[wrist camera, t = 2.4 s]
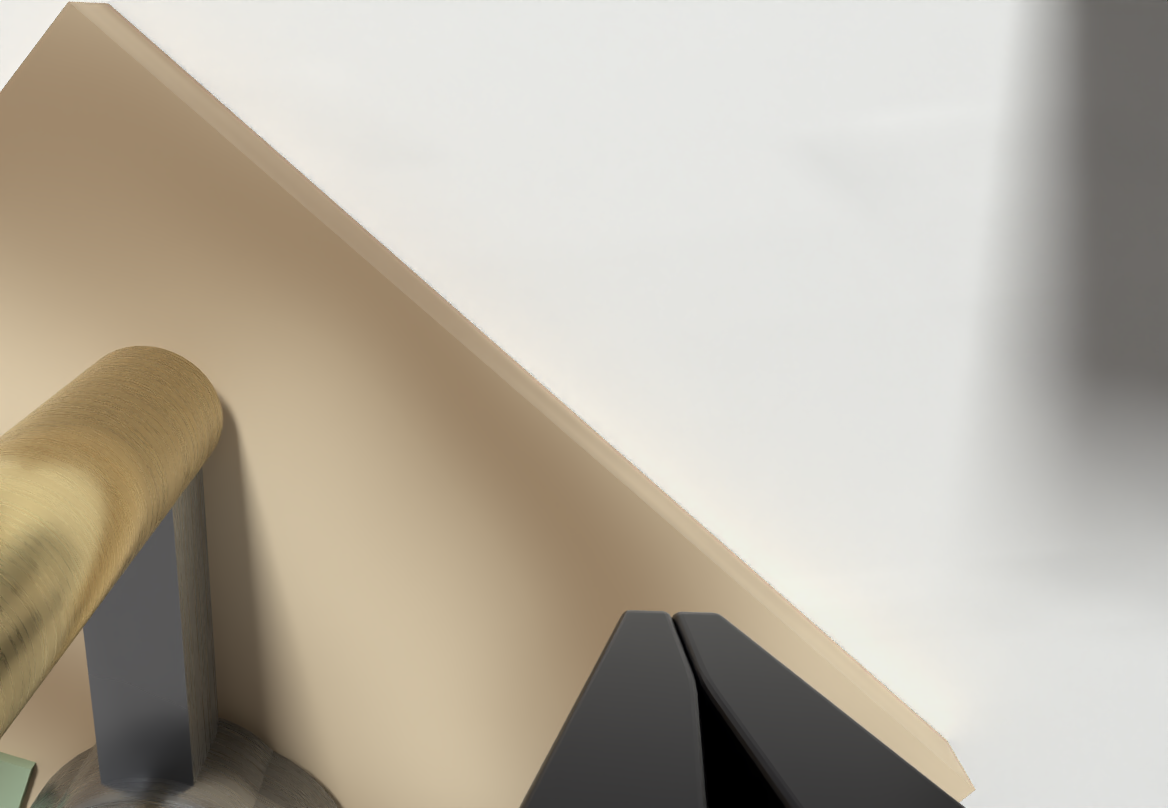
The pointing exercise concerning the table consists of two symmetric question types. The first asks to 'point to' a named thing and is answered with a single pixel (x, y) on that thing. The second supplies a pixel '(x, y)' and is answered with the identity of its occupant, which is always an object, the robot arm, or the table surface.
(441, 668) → the stand
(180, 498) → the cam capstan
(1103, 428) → the table surface
